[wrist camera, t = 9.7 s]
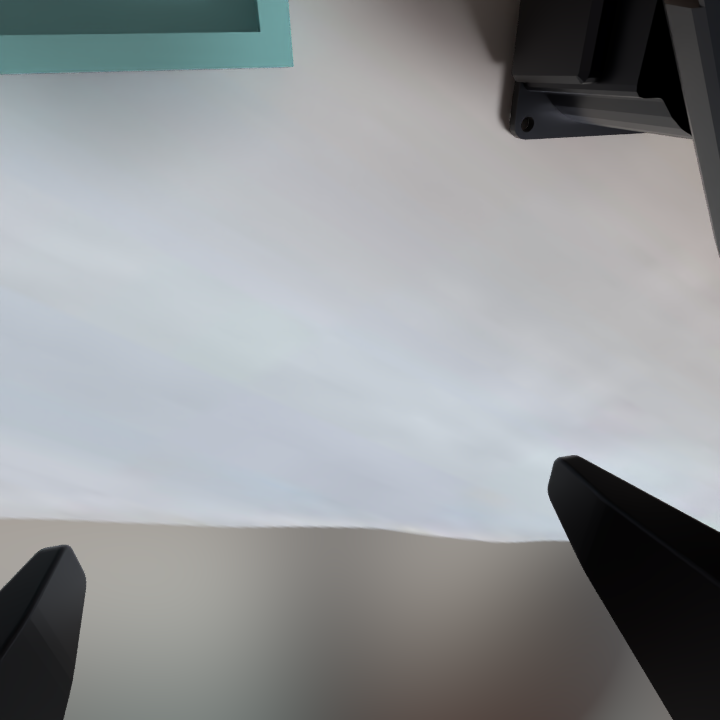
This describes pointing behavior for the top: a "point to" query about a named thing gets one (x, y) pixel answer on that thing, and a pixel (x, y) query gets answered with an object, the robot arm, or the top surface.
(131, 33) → the desk tray
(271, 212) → the top surface
